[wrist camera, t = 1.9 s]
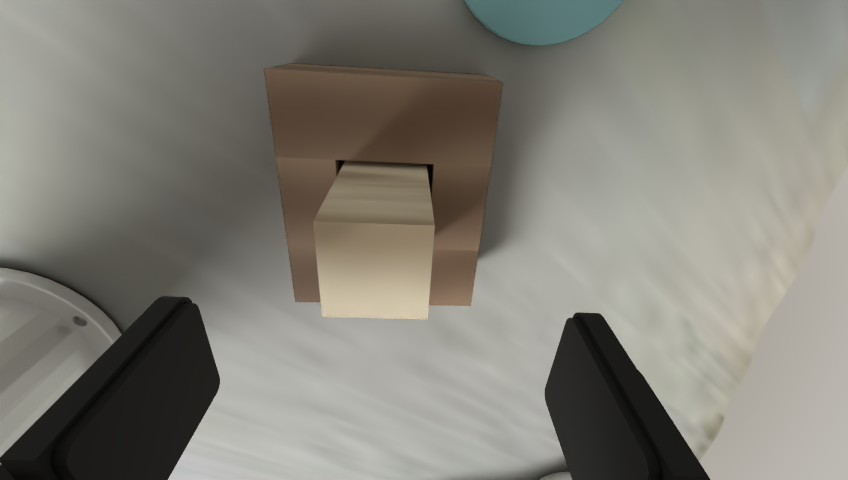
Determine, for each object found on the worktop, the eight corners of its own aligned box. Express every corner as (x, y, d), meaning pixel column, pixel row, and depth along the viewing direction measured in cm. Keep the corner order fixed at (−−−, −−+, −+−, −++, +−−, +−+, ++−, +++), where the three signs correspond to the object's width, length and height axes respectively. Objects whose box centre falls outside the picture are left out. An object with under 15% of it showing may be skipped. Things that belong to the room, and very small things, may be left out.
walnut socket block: (462, 268, 25) (470, 305, 22) (311, 264, 25) (295, 301, 21) (486, 74, 19) (502, 82, 16) (291, 63, 19) (263, 68, 15)
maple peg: (420, 212, 23) (427, 319, 14) (355, 210, 23) (321, 317, 14) (424, 148, 21) (435, 225, 12) (353, 145, 21) (313, 221, 12)
